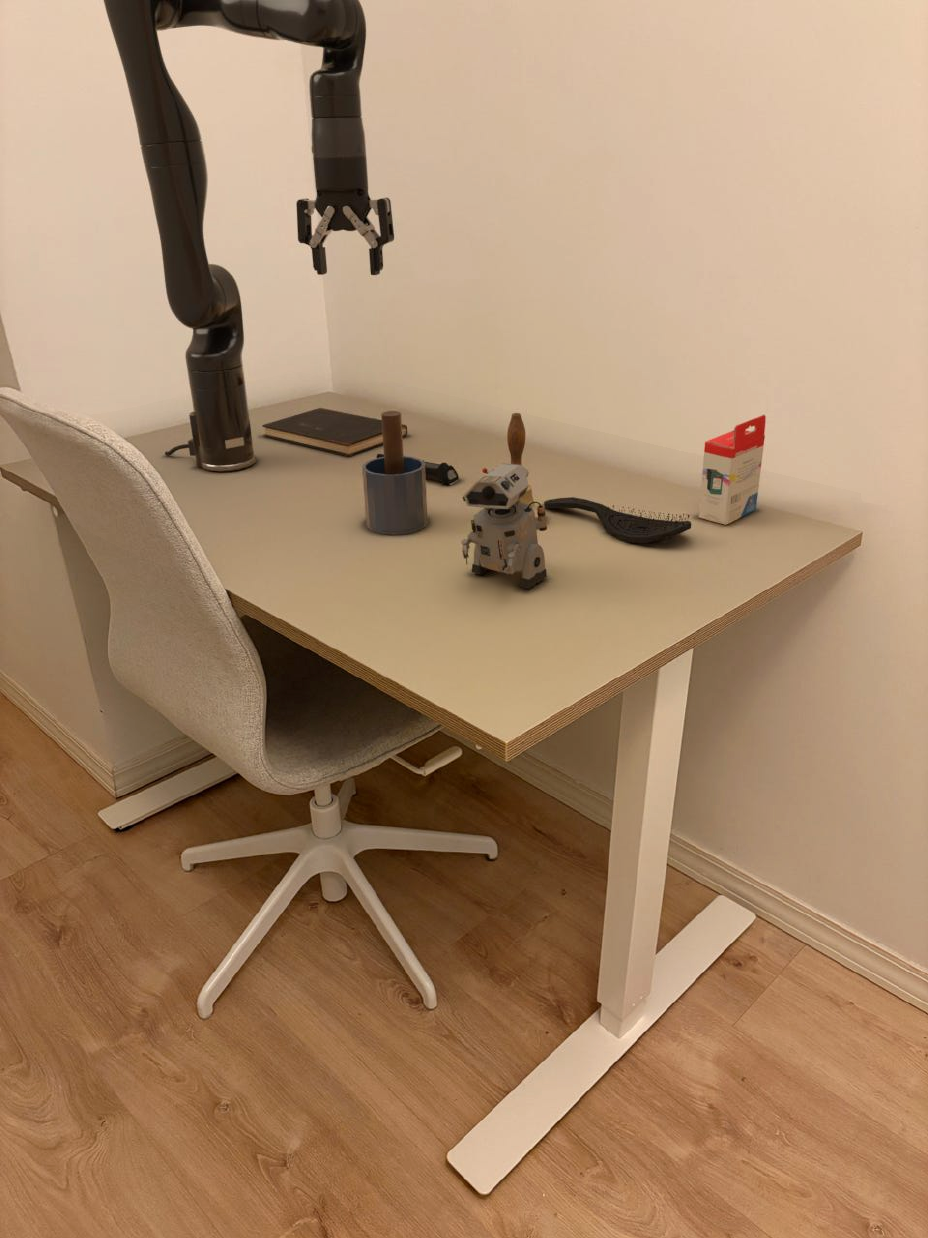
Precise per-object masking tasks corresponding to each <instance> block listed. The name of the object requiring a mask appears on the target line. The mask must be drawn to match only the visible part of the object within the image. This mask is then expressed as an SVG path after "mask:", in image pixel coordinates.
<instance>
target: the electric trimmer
mask: <svg viewBox="0 0 928 1238" xmlns="http://www.w3.org/2000/svg"><path fill="white" fill-rule="evenodd" d="M375 457H376V458H381V457H384V453H377V454H376V456H375ZM376 458H375V459H376ZM422 461H423V462H425V475H426V479H430V480H434V481H440V482H441V483H442V485H445V486H447V485H450V486H452V485H454V484H455V483H457V482H459V479H460V476H459V473H458V472H457V470H456V469H455V467H454V466H453V465H452V464H451V465H450V464H448V463H447V462H441V463H435V462H429V461H425V460H423V459H422Z"/></svg>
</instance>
